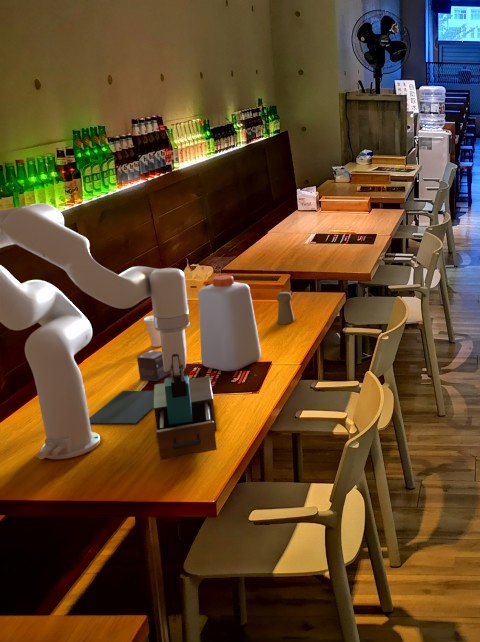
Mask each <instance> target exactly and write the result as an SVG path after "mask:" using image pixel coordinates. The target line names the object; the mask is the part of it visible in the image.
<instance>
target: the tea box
mask: <svg viewBox="0 0 480 642" xmlns="http://www.w3.org/2000/svg"><path fill="white" fill-rule="evenodd" d="M188 379H189V375H185V376H184V380H186V390H187V396H183V397H176V398H173V397H172V389H171V382H172V379H171V377H166V378H164V383H165V394H166V403H167V412H168V421H169V425H171V424H178V423H185V422H191V421H192V409H191V400H190V390H189V380H188Z"/></svg>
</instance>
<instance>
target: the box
mask: <svg viewBox="0 0 480 642" xmlns="http://www.w3.org/2000/svg"><path fill="white" fill-rule="evenodd" d="M136 361H137V367H138V374H139V380H142V381H150V382H151V381H152V382H153V381H154V382H158V381H160V380H162V379H163V378H164V379H165V377H167V376H169V375H170V370H169V371H167V372H165V371H164V367H163V357H162V350H149V351H146V352H144V353H142V354H141V355H138V356H137V357H136Z"/></svg>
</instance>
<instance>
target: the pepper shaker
mask: <svg viewBox="0 0 480 642" xmlns="http://www.w3.org/2000/svg"><path fill="white" fill-rule="evenodd" d="M291 300H292V295H291V292H288V291H281V292H279V293H277V294H276V301H277V302H278V303H277V305H278V307H277V323H278V324H281V325H285V324H286V325H287V324H291V323H294V322H295V316H294V313H293V308H292V302H291Z"/></svg>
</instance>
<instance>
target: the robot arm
mask: <svg viewBox="0 0 480 642" xmlns="http://www.w3.org/2000/svg"><path fill="white" fill-rule="evenodd" d="M13 245H17V246H18V247H21V248H22V249H24V250H26V251H28V252H30V253H32V254H34V255H36V256H37V257H40V258H41V259H43V260H45V261H47V262H49V263H51V264H53V265H55V266H57V267H59V268H60V269H62V270H63V271H65V272H66V274H67V276H68V278H70V280H71V281H72V282H73V283H74V284H75V286H77V287H78V289H79V290H81V291H82V292H84V293H85V294H86V295H88V296H91V297H92V298H93V299H96V300H98V301H99V302H101V303H103V304H105V305H108V306H110V307H113V308H116V309H123V310H124V309H130V308H132V307H134V306H136V305H137V304H139V302H141V301H143V300H144V299H148V298H149V297H151V303H152V304H151V306H152V315H154V323H155V329H156V330H157V331H160V337H161V346H160V347H161V351H162V357H163V367H164V371H165V372H167V371H169V372H170V378H171V379H172V382H171V389H172V397H173V398H176V397H183V396H187V390H186V380H184V376H186V370H185V369H186V368H187V340H186V331H185V329H187V328H189V327H190V325H191V324H190V314H189V304H188V296H187V295H188V294H187V286H186V276H185V273H184V271H183V270H181V269H179V268H176V267H174V268H173V267H165V268H156V267H149V266H141V265H140V266H139V265H137V266H132V267H130V268H128V269H126V270H124V271H122V272H121V273H119V274H118V273H115V272H114V271H112V270H110V269H108V268H106V267H104V266H102V265H101V264H100V263H99V262H97V261H96V260H95V258H94V257H93V256H92V254H91V253H90V241H89V240H88V238H87V237H86V236H84V235H81V234H79V232H76V231H74V230H72V229H70V228H69V227H66V226H65V218H64V216H63V214H62V213H61V211H60V210H59V209H58V208H57V207H55V206H53V205H51V204H48V203H44V202H36V203H32V204H28V205H22V206H17V207H10V208H5V209H0V249H1V248H4V247H9V246H13ZM0 323H1V324H2V325H3V326H4V327H6V328H7V329H9V330H11V331H12V330H13V331H23V330H26V329H28V328H30V327H32V326H34V325H36V324H37V323H38V324H39V325H40V327H38V328H37V329H36V330H34V331H33V332H32V333H31V334H30V335H29V336H28V338H27V339H26V341H25V345H24V354H25V358H26V360H27V362H28V364H29V367H30V370H31V373H32V375H33V379H34V383H35V387H36V392H37V393H36V394H37V398H38V402H39V408H40V413H41V418H42V423H43V428H44V434H45V435H44V436H45V439H44V444H42V446H41V447H40V450H39V451H38V452H37V453H36V458H37V459H39V460H43V459H49V460H66V459H72V458H74V457H79V456H82V455H85V454H86V453H89V452H91V451H92V450H94V449H95V448H97V447H98V445H99V444H100V443H101V437H100V434H98V433H97V432H95V431H92V427H91V424H90V420H89V418H90V415H89V408H88V403H87V396H86V391H85V385H84V381H83V376H82V371H81V370H80V368H79V366H78V364H77V362H76V360H75V358H74V357H75V355H77V353H78V352H79V351H81V350H82V349H84V348H85V347H86V346H87V345H88V344H89V343H90V342H91V340H92V337H93V333H94V332H93V328H92V324H91V322H90V320H88V318H87V317H86V316H85V315H84V314H83V313H82V311H80V309H79V308H78V307H77V306H76V305H75V304H73V302H72V301H70V299H68V297H67V296H66V295H65V294H64V293H63V292H62V291H61V290H59V288H57V287H56V286H55V285H53V284H52V283H50V282H47V281H45V280H43V279H42V280H41V279H32V280H27V281H24V282H22V283H21V282H20V281H19V280H17V279H16V278H15V277H14V276H13V274H11V273H10V272H9V271H8V270H7V269H6V268H5V267H4V266H2V265H1V264H0Z"/></svg>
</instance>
